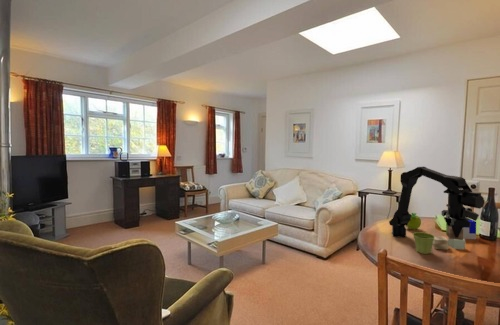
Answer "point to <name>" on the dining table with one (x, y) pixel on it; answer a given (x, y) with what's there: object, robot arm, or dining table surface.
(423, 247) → the plant pot
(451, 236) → the walnut block
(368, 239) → the dining table surface
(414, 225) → the fruit
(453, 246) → the sage block
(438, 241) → the oak block
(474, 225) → the puzzle toy
